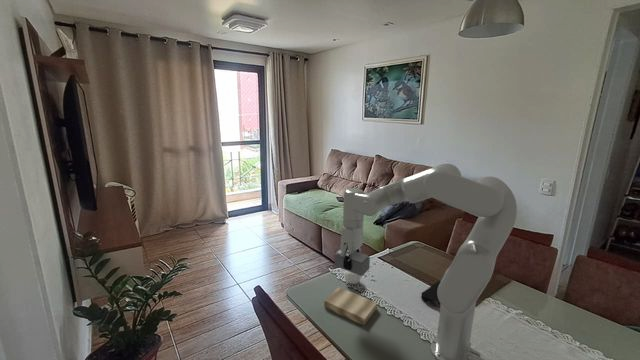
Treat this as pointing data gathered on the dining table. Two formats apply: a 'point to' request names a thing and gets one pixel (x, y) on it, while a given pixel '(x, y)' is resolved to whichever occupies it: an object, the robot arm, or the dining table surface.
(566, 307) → the dining table surface
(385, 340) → the dining table surface
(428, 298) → the black sponge
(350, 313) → the oak stand
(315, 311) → the dining table surface
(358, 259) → the grey rectangular block
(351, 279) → the geometric ball
